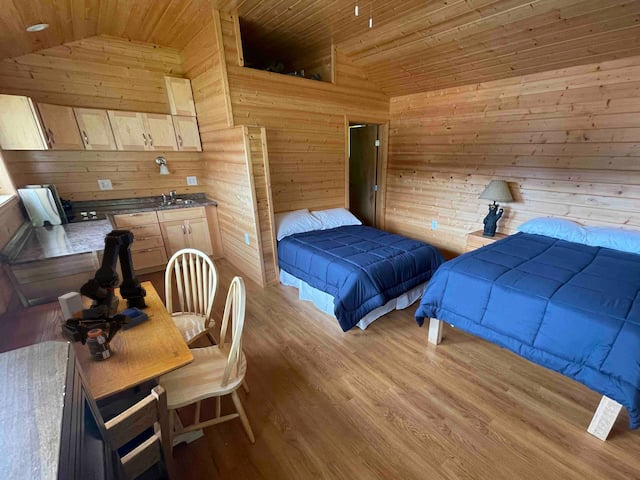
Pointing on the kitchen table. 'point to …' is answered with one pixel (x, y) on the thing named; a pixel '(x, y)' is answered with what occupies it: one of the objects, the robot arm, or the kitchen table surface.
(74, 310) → the cosmetic box
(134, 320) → the blue bin
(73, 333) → the charcoal bin
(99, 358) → the pill bottle
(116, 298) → the gray bowl
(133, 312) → the blue block
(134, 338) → the kitchen table surface
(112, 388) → the kitchen table surface
